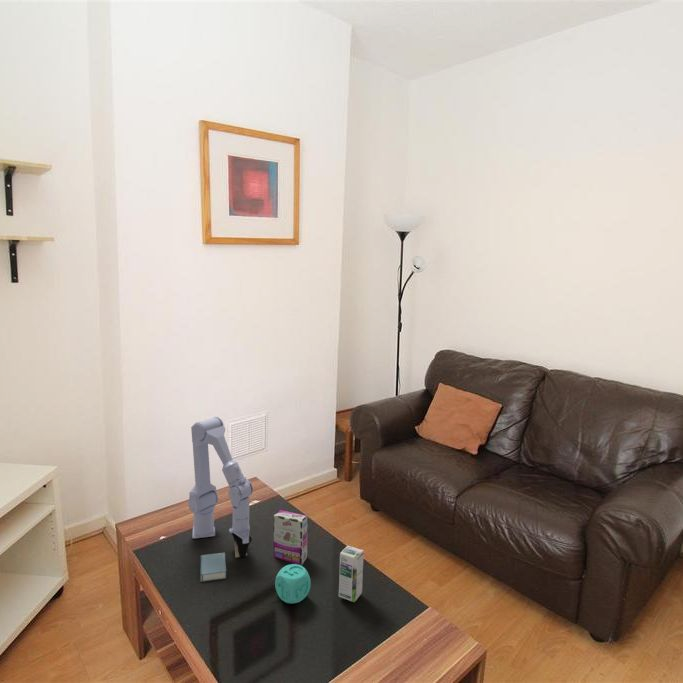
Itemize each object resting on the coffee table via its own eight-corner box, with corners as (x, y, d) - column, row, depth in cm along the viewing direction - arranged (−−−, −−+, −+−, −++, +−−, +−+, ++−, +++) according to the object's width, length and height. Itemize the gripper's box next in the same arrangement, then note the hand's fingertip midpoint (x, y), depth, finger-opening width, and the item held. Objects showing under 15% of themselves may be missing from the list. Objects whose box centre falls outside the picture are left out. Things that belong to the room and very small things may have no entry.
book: (200, 562, 166) (200, 555, 165) (224, 559, 168) (224, 552, 168) (200, 582, 155) (200, 574, 155) (226, 578, 157) (226, 570, 157)
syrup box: (337, 597, 149) (339, 553, 148) (346, 586, 155) (347, 544, 153) (354, 603, 147) (355, 558, 145) (362, 592, 152) (364, 549, 150)
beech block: (234, 553, 171) (234, 540, 171) (246, 552, 172) (246, 539, 172) (235, 560, 167) (235, 546, 167) (247, 558, 168) (247, 545, 168)
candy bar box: (307, 559, 169) (308, 515, 167) (301, 567, 164) (302, 521, 162) (279, 552, 173) (280, 508, 171) (272, 559, 168) (273, 515, 166)
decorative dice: (274, 594, 150) (274, 570, 149) (294, 583, 155) (294, 560, 154) (290, 607, 144) (291, 582, 143) (310, 595, 150) (311, 571, 149)
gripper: (224, 508, 173) (224, 544, 174) (234, 528, 160) (234, 566, 161) (244, 505, 176) (244, 540, 177) (255, 523, 163) (254, 561, 164)
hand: (240, 552), depth 170 cm, fingers closed on beech block, 4 cm apart
